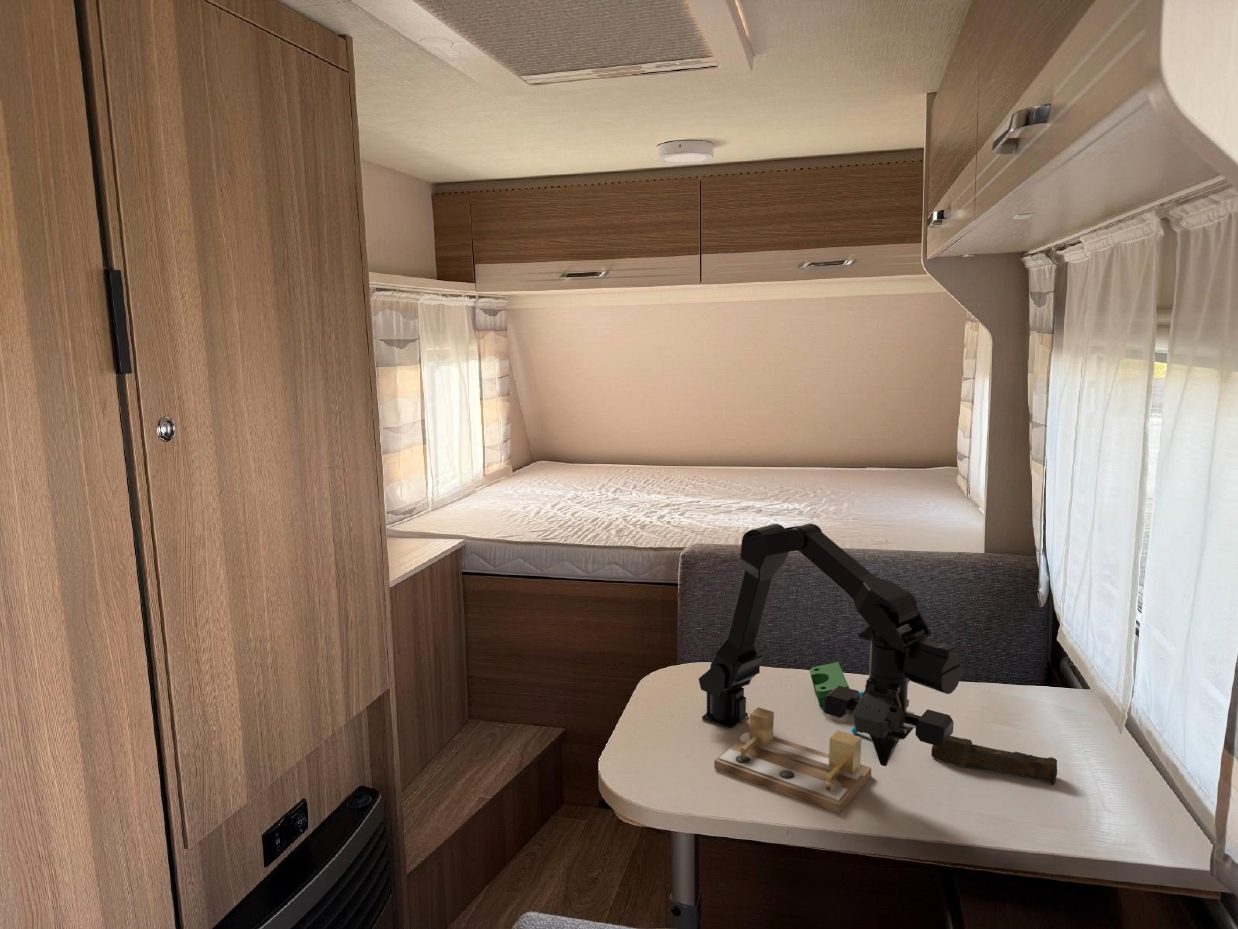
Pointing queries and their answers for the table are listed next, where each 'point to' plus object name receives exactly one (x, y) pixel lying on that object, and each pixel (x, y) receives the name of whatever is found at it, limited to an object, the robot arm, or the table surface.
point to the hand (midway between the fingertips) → (884, 764)
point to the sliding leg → (843, 755)
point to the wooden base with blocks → (788, 766)
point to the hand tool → (995, 759)
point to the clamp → (827, 680)
